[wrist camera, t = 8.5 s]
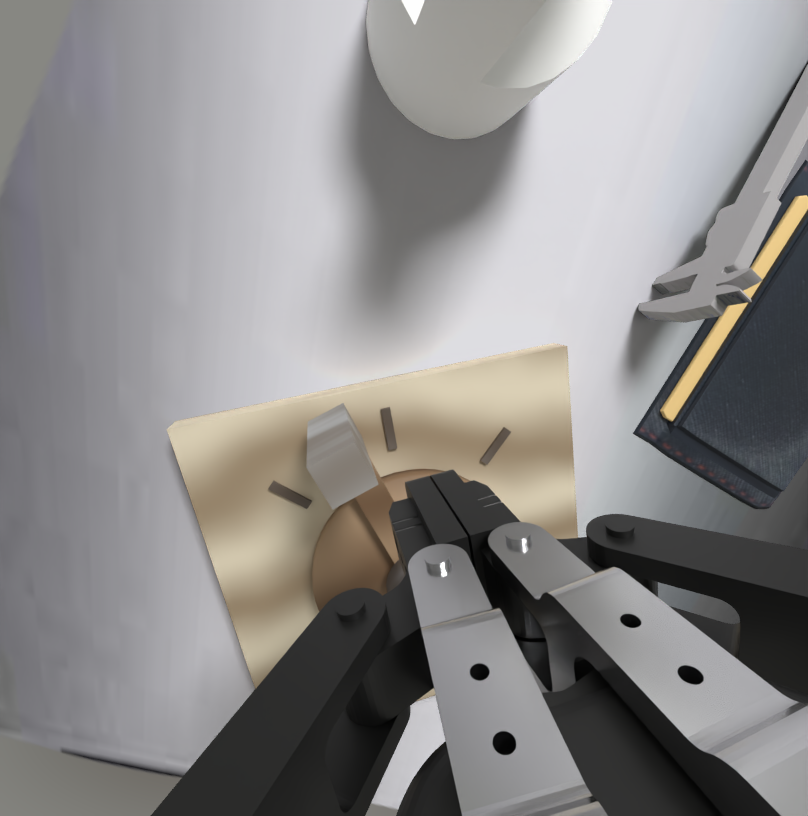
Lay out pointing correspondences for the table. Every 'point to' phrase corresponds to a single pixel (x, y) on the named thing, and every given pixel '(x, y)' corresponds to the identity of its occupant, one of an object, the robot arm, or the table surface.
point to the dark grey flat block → (747, 374)
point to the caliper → (736, 229)
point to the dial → (353, 510)
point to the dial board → (389, 452)
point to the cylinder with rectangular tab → (475, 56)
